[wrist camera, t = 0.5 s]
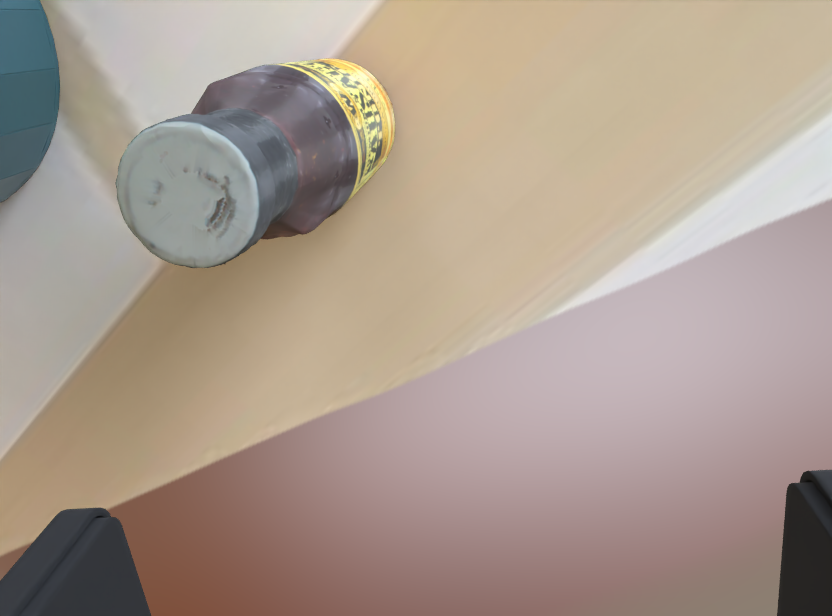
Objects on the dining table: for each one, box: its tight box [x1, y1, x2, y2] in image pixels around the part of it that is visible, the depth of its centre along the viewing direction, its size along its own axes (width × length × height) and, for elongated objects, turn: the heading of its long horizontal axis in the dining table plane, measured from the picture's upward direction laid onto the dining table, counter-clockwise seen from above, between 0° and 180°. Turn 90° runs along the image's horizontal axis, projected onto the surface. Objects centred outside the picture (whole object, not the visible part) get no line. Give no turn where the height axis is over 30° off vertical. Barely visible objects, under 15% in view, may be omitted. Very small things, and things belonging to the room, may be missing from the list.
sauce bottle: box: [116, 59, 395, 268], centre depth 28 cm, size 7×6×20 cm
